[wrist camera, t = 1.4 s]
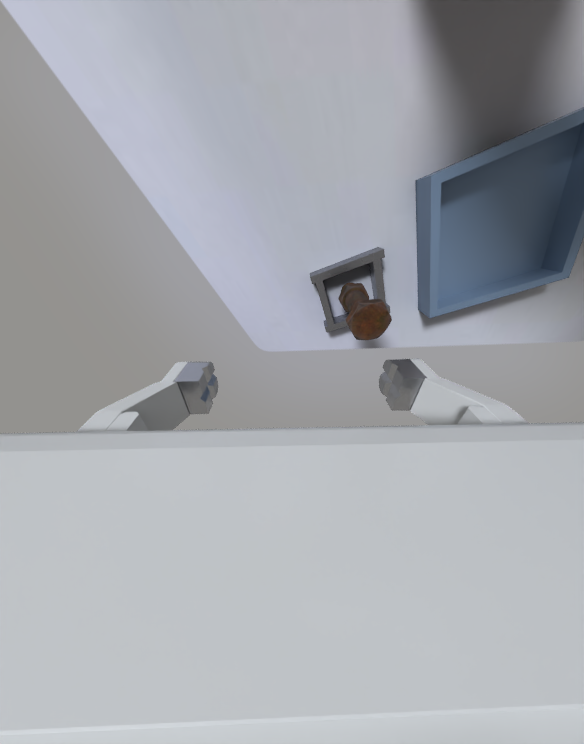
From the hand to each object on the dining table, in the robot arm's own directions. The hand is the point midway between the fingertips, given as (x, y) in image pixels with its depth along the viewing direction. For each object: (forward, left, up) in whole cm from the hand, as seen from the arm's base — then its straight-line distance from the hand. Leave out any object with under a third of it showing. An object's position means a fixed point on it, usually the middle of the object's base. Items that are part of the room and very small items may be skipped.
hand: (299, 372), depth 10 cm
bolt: (-7, +8, -33) cm, 35 cm away
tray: (-29, +6, -33) cm, 44 cm away
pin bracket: (-7, +8, -33) cm, 35 cm away
